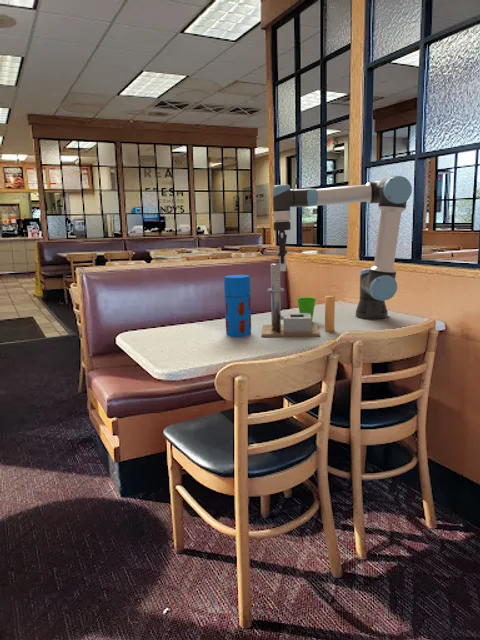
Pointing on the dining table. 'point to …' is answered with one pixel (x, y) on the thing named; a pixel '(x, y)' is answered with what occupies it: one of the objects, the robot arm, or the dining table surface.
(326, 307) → the pin
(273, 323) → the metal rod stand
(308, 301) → the cup
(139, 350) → the dining table surface
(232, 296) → the thermos
